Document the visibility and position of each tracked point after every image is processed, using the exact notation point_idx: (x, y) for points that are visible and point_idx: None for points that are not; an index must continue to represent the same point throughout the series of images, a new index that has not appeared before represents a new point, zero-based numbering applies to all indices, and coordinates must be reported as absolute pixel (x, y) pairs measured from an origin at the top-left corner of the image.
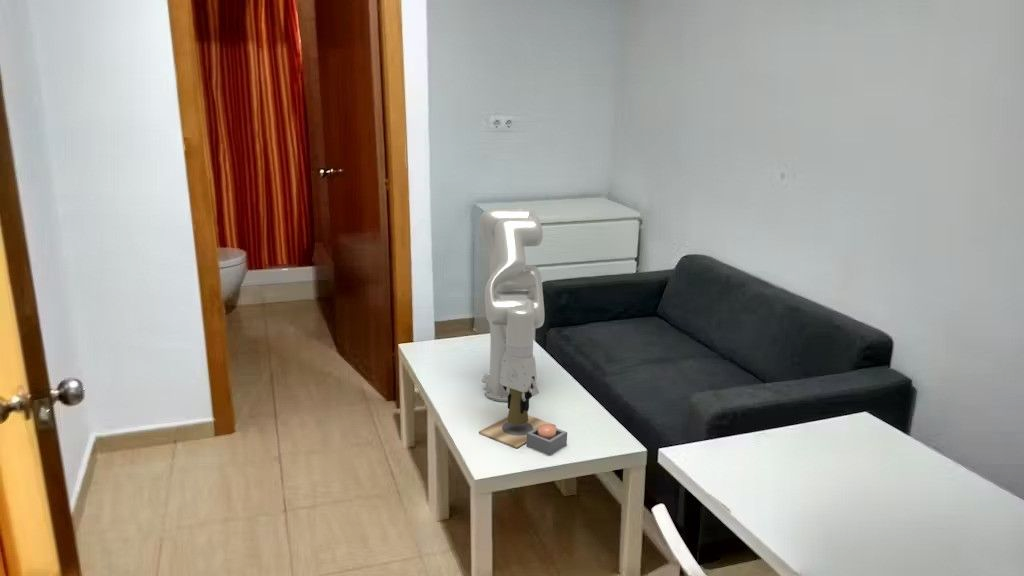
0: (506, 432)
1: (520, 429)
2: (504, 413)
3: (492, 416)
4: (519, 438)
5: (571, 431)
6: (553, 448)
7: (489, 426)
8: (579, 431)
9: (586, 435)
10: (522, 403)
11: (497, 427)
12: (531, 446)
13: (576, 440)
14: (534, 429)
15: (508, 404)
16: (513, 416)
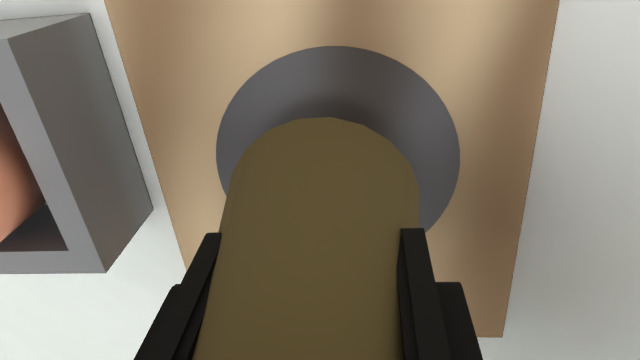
0: (343, 51)
1: None
2: (577, 278)
3: (637, 198)
4: (195, 53)
5: (120, 335)
6: None
7: (546, 29)
8: (99, 354)
9: (45, 345)
10: (159, 339)
11: (471, 68)
12: (31, 20)
13: (17, 284)
14: (48, 151)
15: (417, 264)
16: (289, 163)
